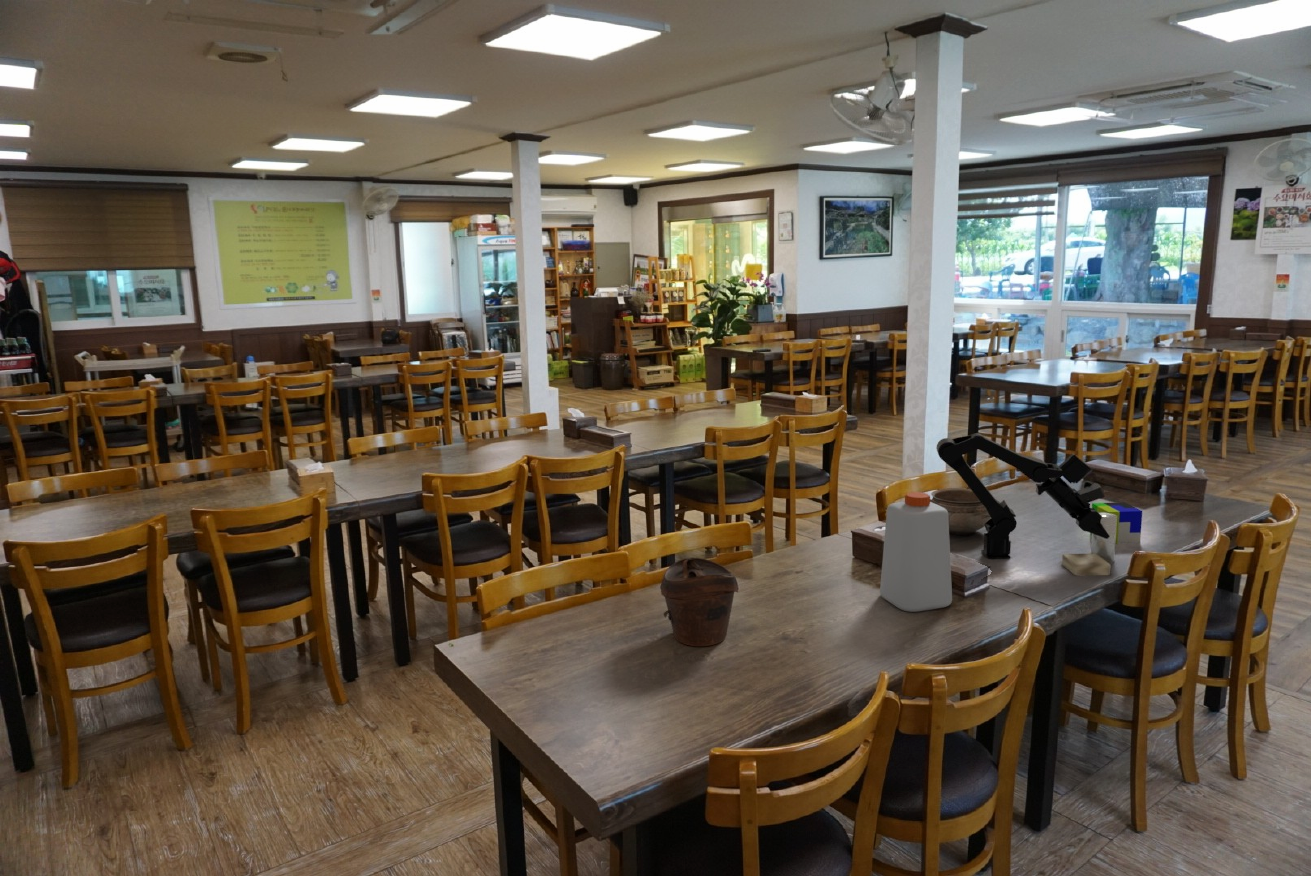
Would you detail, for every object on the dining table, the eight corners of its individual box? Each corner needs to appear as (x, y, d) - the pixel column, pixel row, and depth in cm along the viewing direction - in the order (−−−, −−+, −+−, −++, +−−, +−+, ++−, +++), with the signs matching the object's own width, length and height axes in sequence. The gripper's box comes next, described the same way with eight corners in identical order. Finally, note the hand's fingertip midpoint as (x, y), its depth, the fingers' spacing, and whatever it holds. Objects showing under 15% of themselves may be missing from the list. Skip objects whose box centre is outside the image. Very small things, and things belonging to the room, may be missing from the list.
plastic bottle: (905, 615, 208) (907, 505, 203) (873, 594, 222) (874, 490, 217) (958, 607, 212) (962, 498, 207) (924, 586, 226) (926, 484, 221)
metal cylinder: (1096, 563, 239) (1098, 518, 236) (1086, 556, 245) (1089, 512, 242) (1118, 562, 238) (1121, 518, 236) (1108, 555, 244) (1111, 512, 242)
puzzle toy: (1140, 543, 254) (1142, 511, 252) (1106, 544, 255) (1108, 512, 253) (1122, 533, 264) (1124, 502, 262) (1090, 534, 264) (1092, 503, 262)
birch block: (1075, 575, 230) (1076, 564, 230) (1061, 564, 239) (1062, 553, 238) (1109, 574, 230) (1110, 564, 229) (1094, 563, 238) (1095, 553, 238)
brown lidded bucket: (688, 613, 214) (686, 545, 211) (755, 632, 202) (754, 560, 199) (643, 638, 201) (639, 566, 198) (711, 659, 188) (709, 583, 185)
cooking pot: (1011, 533, 268) (1013, 496, 265) (979, 547, 256) (981, 508, 253) (940, 518, 287) (941, 483, 284) (908, 530, 275) (908, 493, 272)
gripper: (1094, 483, 229) (1137, 523, 229) (1078, 467, 247) (1117, 504, 246) (1061, 510, 233) (1103, 550, 232) (1047, 493, 250) (1086, 530, 250)
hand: (1103, 532), depth 240 cm, fingers open, 9 cm apart
